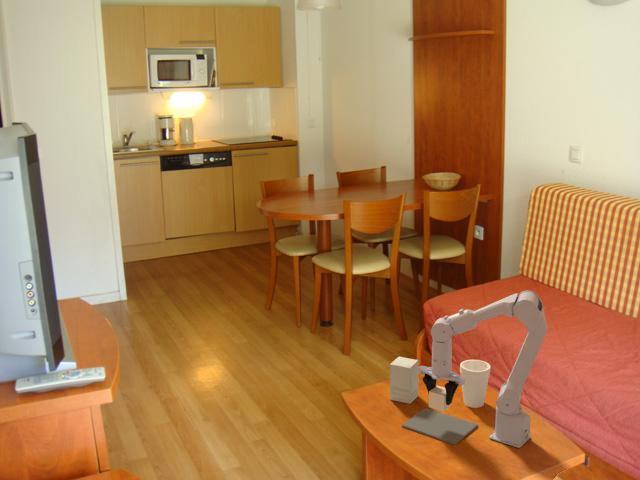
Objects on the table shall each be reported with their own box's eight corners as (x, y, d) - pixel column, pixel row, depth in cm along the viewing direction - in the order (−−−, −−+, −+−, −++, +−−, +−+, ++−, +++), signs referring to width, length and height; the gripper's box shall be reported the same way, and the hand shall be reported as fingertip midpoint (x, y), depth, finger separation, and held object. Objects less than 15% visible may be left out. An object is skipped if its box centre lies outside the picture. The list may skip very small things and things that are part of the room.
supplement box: (419, 395, 242) (419, 360, 239) (409, 404, 235) (410, 368, 232) (398, 391, 245) (398, 355, 242) (389, 399, 239) (389, 363, 236)
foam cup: (452, 401, 237) (454, 364, 234) (473, 394, 242) (475, 357, 239) (474, 412, 229) (475, 374, 226) (495, 404, 234) (496, 367, 231)
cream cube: (451, 405, 219) (452, 389, 218) (443, 411, 216) (444, 395, 214) (437, 400, 222) (437, 385, 221) (428, 406, 219) (429, 391, 217)
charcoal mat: (477, 426, 221) (477, 424, 221) (455, 445, 210) (455, 443, 210) (425, 409, 232) (425, 407, 232) (401, 426, 221) (401, 424, 221)
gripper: (413, 357, 217) (412, 399, 220) (457, 369, 208) (455, 413, 211) (425, 349, 222) (424, 391, 226) (468, 361, 213) (467, 404, 217)
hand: (440, 401), depth 219 cm, fingers closed on cream cube, 5 cm apart
